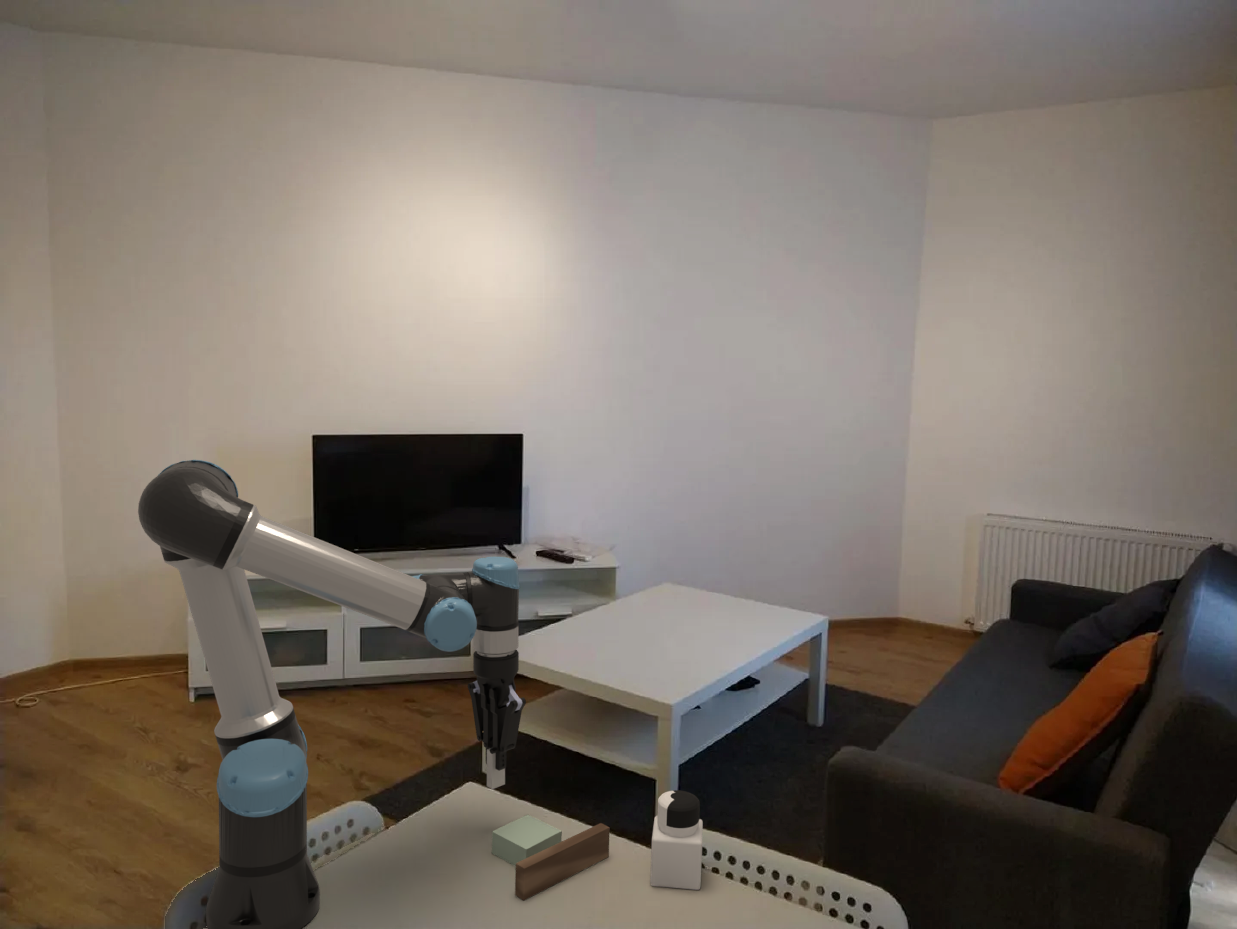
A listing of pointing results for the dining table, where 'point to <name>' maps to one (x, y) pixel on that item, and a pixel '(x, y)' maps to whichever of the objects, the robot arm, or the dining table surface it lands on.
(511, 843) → the block
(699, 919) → the dining table surface
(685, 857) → the container
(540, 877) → the board
